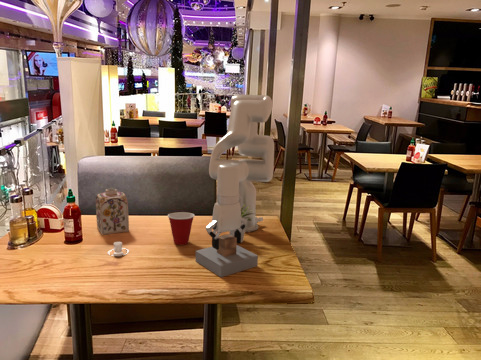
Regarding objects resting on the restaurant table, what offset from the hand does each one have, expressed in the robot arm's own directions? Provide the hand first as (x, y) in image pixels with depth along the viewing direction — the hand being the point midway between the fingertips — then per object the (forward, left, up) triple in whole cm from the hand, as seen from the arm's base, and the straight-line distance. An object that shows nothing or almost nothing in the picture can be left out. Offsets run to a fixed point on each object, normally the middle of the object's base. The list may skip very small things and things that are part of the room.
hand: (226, 245), depth 145 cm
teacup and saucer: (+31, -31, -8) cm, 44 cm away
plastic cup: (+3, -27, -7) cm, 28 cm away
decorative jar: (+20, -57, -7) cm, 61 cm away
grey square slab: (0, 0, -7) cm, 7 cm away
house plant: (-16, -15, -7) cm, 23 cm away
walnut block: (0, 0, -3) cm, 3 cm away
